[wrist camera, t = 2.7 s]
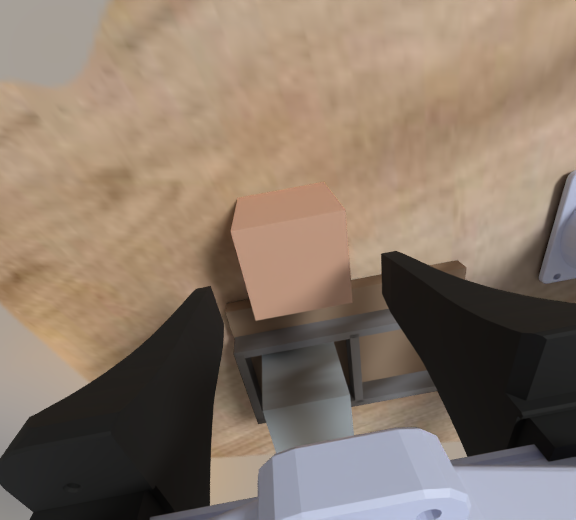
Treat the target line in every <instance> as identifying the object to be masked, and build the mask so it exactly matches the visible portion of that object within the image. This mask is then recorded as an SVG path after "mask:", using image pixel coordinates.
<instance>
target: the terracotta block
mask: <svg viewBox="0 0 576 520" xmlns="http://www.w3.org/2000/svg"><path fill="white" fill-rule="evenodd" d="M231 234H232V238H233V242H234V245H235V249H236V252H237V256H238V259H239V263H240V267H241V270H242V274H243V277H244V281H245V284H246V288H247V291H248V295H249V299H250V302H251V306H252V309H253V313H254V316H255V320H256V321H257V320H262V319H268V318H273V317H278V316H284V315H289V314H295V313H300V312H305V311H311V310H316V309H321V308H327V307H332V306H338V305H343V304H348V303H353V302H352V289H351V276H350V262H349V249H348V236H347V222H346V210H345V208H344V207H343V206H342V205H341V203H340V202H339V201H338V199H337V198H336V197H335V196H334V194H333V193H332V192H331V190H330V189H329V188H328V187H327V185H326V184H325V183H324V182H320V183H314V184H309V185H304V186H298V187H293V188H288V189H282V190H277V191H272V192H266V193H261V194H256V195H251V196H245V197H240V198H238V199H237V204H236V209H235V213H234V218H233V223H232V227H231Z"/></svg>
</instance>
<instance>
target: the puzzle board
mask: <svg viewBox="0 0 576 520" xmlns="http://www.w3.org/2000/svg"><path fill="white" fill-rule="evenodd" d="M430 266H431V267H434V268H436V269H438V270H441V271H443V272H446V273H448V274H451V275H454V276H456V277H459V278H461V279H464V280H465V275H466V267H465V266H464V265H463V264H461V263H460V262H459V261H458V260H457V261H451V262H446V263H441V264H435V265H430ZM351 289H352V302H353V303H348V304H343V305H338V306H332V307H327V308H321V309H316V310H311V311H305V312H300V313H295V314H289V315H284V316H278V317H273V318H268V319H262V320H257V321H256V320H255V316H254V313H253V309H252V306H251V302H250V299H248V300H243V301H237V302H232V303H227V305H226V311H225V313H226V316H227V319H228V322H229V325H230V328H231V331H232V334H233V337H234V340H235V343H234V353H233V354H234V356H235V359H236V362H237V365H238V368H239V371H240V373H241V376H242V379H243V382H244V385H245V388H246V391H247V393H248V396H249V399H250V402H251V405H252V408H253V410H254V413H255V416H256V419H257V422H258V424H262V423H267V426H268V429H269V432H270V435H271V438H272V441H273V444H274V447H275V450H276V453H279V452H282V451H284V450H287V449H290V448H293V447H296V446H301V445H307V444H312V443H317V442H323V441H328V440H333V439H338V438H344V437H349V436H354V431H353V421H352V411H351V407H353V406H359V405H364V404H370V403H375V402H380V401H386V400H391V399H396V398H402V397H407V396H413V395H418V394H423V393H429V392H434V391H437V389H436V387H435V385H434V383H433V381H432V379H431V377H430V375H429V373H428V371H427V369H426V367H425V365H424V364H423V362H422V360H421V359H420V357H419V355H418V354H417V352H416V351H415V349H414V348H413V346H412V345H411V343H410V342H409V340H408V339H407V337H406V336H405V334H404V333H403V331H402V330H401V328H400V326H399V325H398V323H397V322H396V320H395V319H394V317H393V316H392V314H391V312H390V310H389V308H388V306H387V304H386V302H385V300H384V297H383V295H382V275H376V276H371V277H366V278H360V279H355V280H351Z"/></svg>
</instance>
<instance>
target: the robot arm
mask: <svg viewBox="0 0 576 520" xmlns="http://www.w3.org/2000/svg"><path fill="white" fill-rule="evenodd" d="M381 266H382V295H383V297H384V300H385V302H386V304H387V306H388V308H389V310H390V312H391V314H392V316H393V317H394V319H395V320H396V322H397V323H398V325H399V326H400V328H401V330H402V331H403V333H404V334H405V336H406V337H407V339H408V340H409V342H410V343H411V345H412V346H413V348H414V349H415V351H416V352H417V354H418V355H419V357H420V359H421V360H422V362H423V364H424V365H425V367H426V369H427V371H428V373H429V375H430V377H431V379H432V381H433V383H434V385H435V387H436V389H437V391H438V393H439V395H440V397H441V399H442V401H443V403H444V405H445V407H446V410H447V412H448V414H449V416H450V418H451V420H452V423H453V425H454V427H455V429H456V431H457V434H458V436H459V438H460V440H461V443H462V445H463V447H464V449H465V452H466V454H467V457H465V458H459V459H454V460H449V458H448V456H447V454H446V453H445V451H444V449H443V447H442V445H441V443H440V441H439V439H438V437H437V436H436V435H434V434H432V433H429V432H427V431H425V430H423V429H420V428H417V427H400V428H391V429H386V430H380V431H375V432H370V433H365V434H359V435H354V436H349V437H344V438H338V439H333V440H328V441H323V442H317V443H312V444H307V445H301V446H296V447H293V448H290V449H287V450H284V451H282V452H279V453H276V454H274V455H273V456H272V457H271V458H270V459H269V460H268V461H267V462H266V463H265V464H264V465H263V466H262V467H261V468H260V469H259V474H258V497H254V498H249V499H243V500H238V501H233V502H227V503H222V504H217V505H212V506H210V461H211V437H212V419H213V404H214V396H215V390H216V384H217V379H218V373H219V367H220V361H221V355H222V349H223V338H224V323H223V320H222V317H221V314H220V311H219V309H218V306H217V303H216V300H215V297H214V294H213V291H212V289H211V286H208V287H203V288H198V289H196V290H194V291H193V292H192V294H191V295H190V296H189V297H188V298H187V299H186V300H185V301H184V302H183V304H182V305H181V306H180V307H179V308H178V309H177V310H176V311H175V312H174V313H173V315H172V316H171V317H170V318H169V319H168V320H167V321H166V322H165V323H164V324H163V325H162V326H161V327H160V328H159V329H158V330H157V331H156V332H155V333H154V334H153V335H152V336H151V337H150V338H149V339H148V340H146V341H145V342H144V343H143V344H142V345H141V346H140V347H138V348H137V349H136V350H135V351H134V352H132V353H131V354H130V355H129V356H127V357H126V358H125V359H123V360H122V361H121V362H119V363H118V364H117V365H115V366H114V367H112V368H111V369H110V370H108V371H107V372H106V373H104V374H103V375H101V376H100V377H98V378H97V379H95V380H94V381H92V382H91V383H89V384H88V385H86V386H85V387H83V388H81V389H79V390H78V391H76V392H75V393H73V394H71V395H70V396H68V397H66V398H65V399H62V400H61V401H59V402H57V403H55V404H53V405H51V406H50V407H48V408H46V409H44V410H42V411H41V412H39V413H37V414H35V415H34V416H31V417H29V419H28V420H27V421H26V423H25V424H24V426H23V427H22V428H21V430H20V431H19V433H18V434H17V435H16V437H15V438H14V440H13V441H12V442H11V444H10V445H9V447H8V448H7V449H6V451H5V453H4V454H3V455H2V457H1V458H0V484H1V486H2V487H3V488H4V489H5V490H6V491H8V492H9V493H10V494H11V495H13V496H14V497H15V498H16V499H18V500H19V501H20V502H21V503H22V504H24V505H25V506H26V507H28V508H29V509H30V510H31V511H33V514H32V516H31V518H30V520H576V303H567V302H560V301H554V300H547V299H541V298H535V297H530V296H524V295H520V294H515V293H511V292H506V291H502V290H498V289H494V288H490V287H487V286H483V285H480V284H477V283H473V282H470V281H467V280H464V279H461V278H459V277H456V276H454V275H451V274H448V273H446V272H443V271H441V270H438V269H436V268H434V267H431V266H429V265H427V264H425V263H422V262H420V261H418V260H416V259H414V258H412V257H409V256H407V255H405V254H403V253H400V252H397V251H393V252H388V253H383V254H381ZM574 278H576V170H574V171H573V172H571V173H570V174H569V175H568V177H567V179H566V183H565V186H564V190H563V193H562V197H561V200H560V204H559V207H558V211H557V214H556V218H555V221H554V225H553V229H552V232H551V236H550V239H549V243H548V246H547V250H546V253H545V257H544V260H543V264H542V267H541V271H540V274H539V280H540V281H541V282H543V283H545V284H547V283H553V282H558V281H564V280H569V279H574Z"/></svg>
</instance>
